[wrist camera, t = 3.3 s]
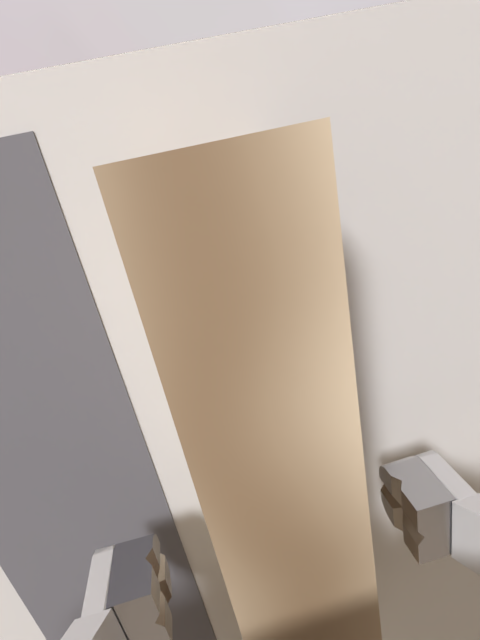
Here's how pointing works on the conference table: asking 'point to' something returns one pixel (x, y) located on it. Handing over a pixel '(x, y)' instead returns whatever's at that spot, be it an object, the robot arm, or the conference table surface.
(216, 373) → the long tan strip
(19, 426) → the mat
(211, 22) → the conference table surface
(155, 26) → the conference table surface
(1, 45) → the conference table surface
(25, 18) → the conference table surface
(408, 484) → the robot arm
